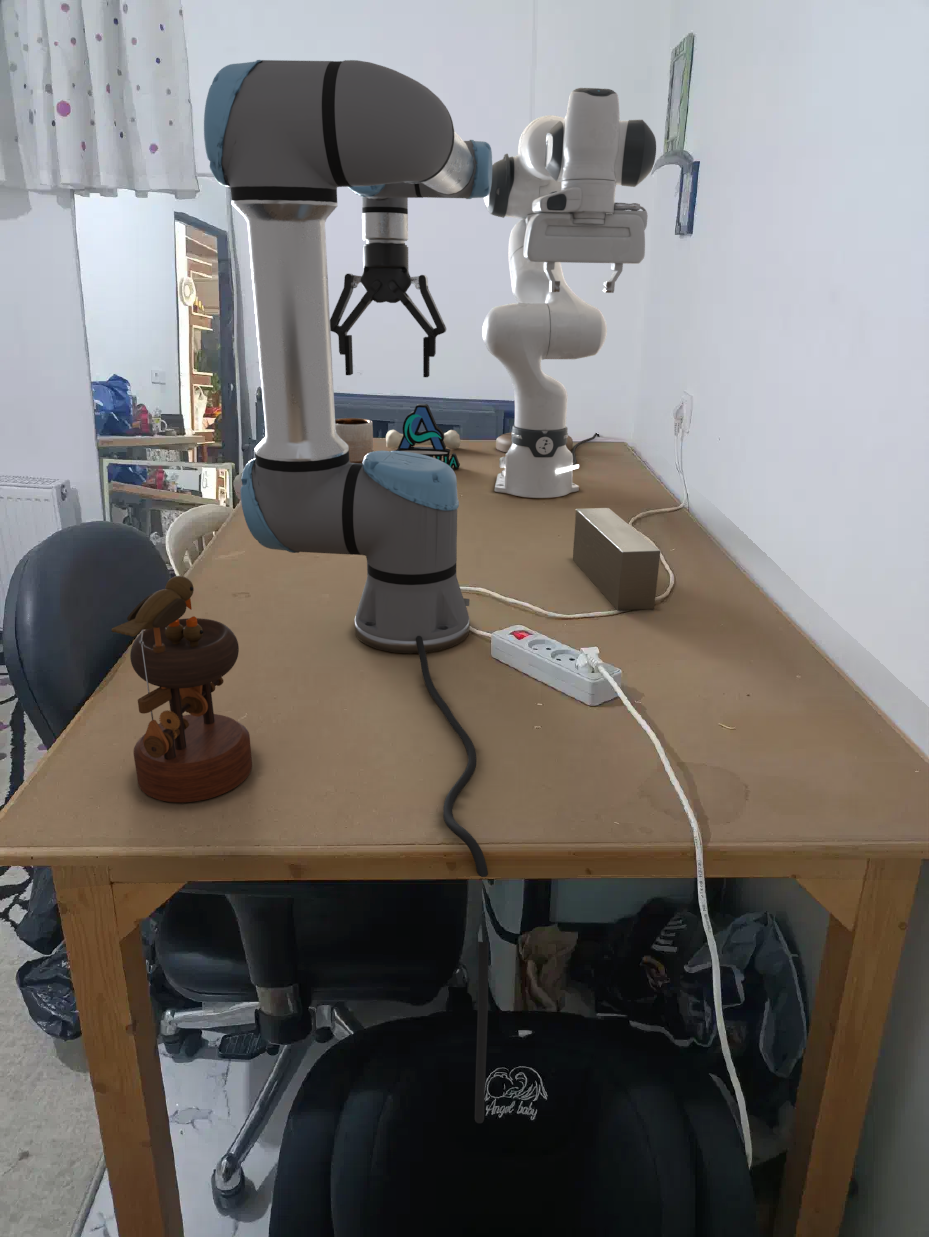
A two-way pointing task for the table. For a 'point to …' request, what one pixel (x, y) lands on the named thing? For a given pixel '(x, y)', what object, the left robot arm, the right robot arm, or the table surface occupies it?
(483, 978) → the left robot arm
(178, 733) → the music box
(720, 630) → the table surface
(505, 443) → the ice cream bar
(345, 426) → the planter
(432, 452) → the decorative sign
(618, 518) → the bar
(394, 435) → the dog toy
